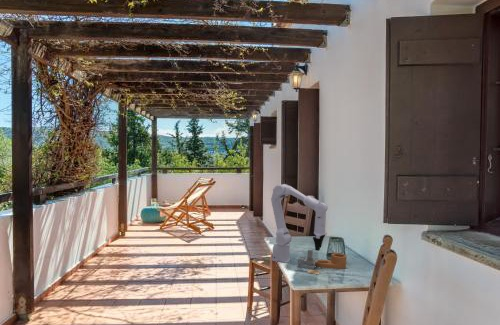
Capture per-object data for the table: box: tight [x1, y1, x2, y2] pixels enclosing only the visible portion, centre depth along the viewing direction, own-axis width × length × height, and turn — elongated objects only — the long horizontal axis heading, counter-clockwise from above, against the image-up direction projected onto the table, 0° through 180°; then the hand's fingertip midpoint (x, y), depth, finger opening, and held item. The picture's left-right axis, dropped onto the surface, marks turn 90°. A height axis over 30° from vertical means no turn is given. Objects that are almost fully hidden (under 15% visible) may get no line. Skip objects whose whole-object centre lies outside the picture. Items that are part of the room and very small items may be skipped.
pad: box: [306, 269, 321, 276], centre depth 210 cm, size 6×6×1 cm
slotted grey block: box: [306, 249, 314, 265], centre depth 219 cm, size 3×5×7 cm, turn 163°
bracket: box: [313, 252, 348, 270], centre depth 223 cm, size 18×8×7 cm, turn 90°
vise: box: [297, 255, 319, 270], centre depth 218 cm, size 10×11×5 cm
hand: (318, 248), depth 220 cm, fingers open, 7 cm apart
